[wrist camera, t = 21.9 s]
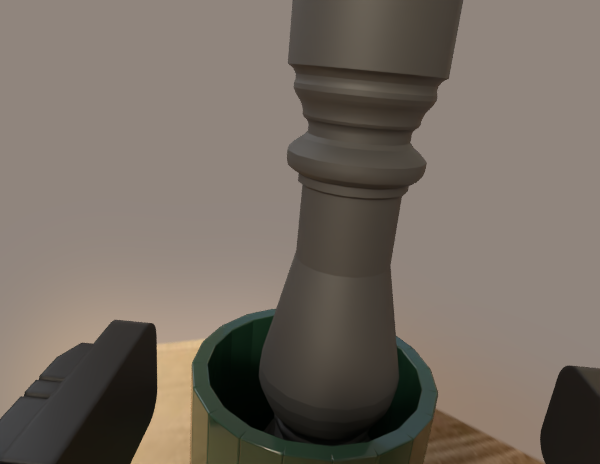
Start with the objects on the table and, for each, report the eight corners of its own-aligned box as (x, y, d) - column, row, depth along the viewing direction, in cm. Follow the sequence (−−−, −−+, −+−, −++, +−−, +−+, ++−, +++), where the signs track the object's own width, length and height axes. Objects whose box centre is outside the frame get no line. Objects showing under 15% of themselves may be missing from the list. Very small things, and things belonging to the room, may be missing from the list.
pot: (415, 492, 27) (448, 341, 24) (370, 706, 18) (415, 506, 14) (251, 429, 31) (261, 290, 27) (141, 580, 21) (136, 397, 18)
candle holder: (220, 532, 23) (248, -47, 15) (294, 457, 28) (345, -10, 20) (327, 619, 20) (437, -59, 12) (389, 517, 25) (497, -12, 17)
